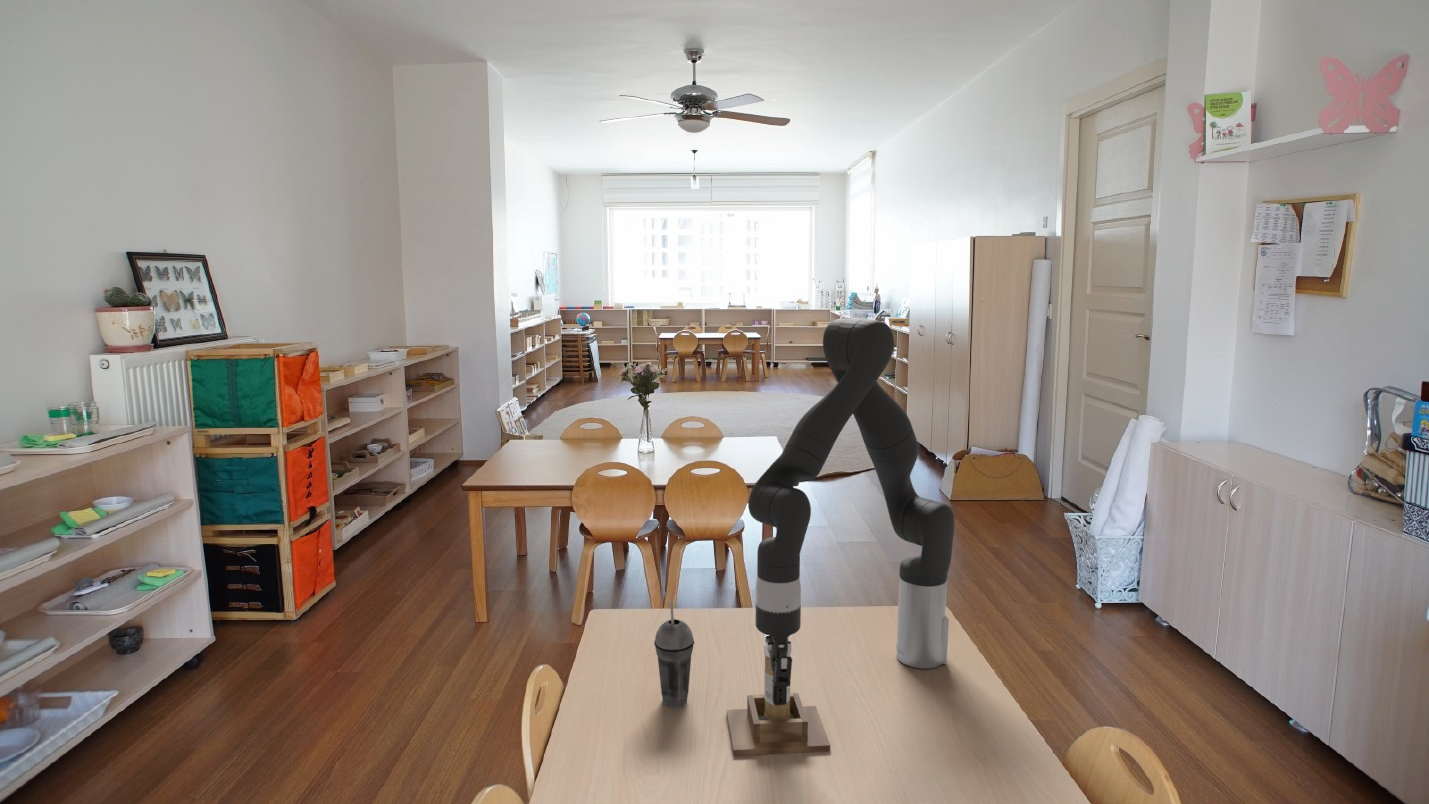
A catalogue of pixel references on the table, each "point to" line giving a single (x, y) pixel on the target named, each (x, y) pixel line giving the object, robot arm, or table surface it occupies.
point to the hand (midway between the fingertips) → (777, 695)
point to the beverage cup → (674, 660)
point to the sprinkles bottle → (770, 709)
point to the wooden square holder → (776, 729)
